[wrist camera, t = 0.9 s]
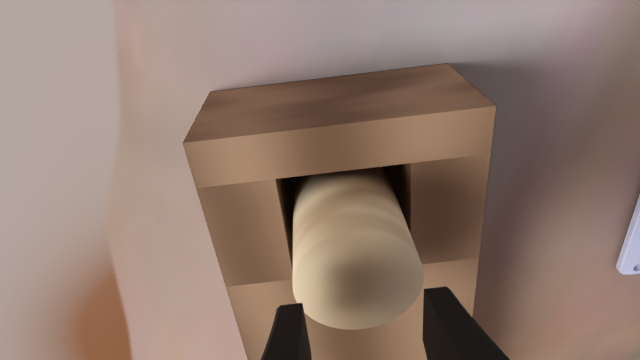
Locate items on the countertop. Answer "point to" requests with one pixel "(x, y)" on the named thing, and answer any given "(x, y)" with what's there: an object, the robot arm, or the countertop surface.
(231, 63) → the countertop surface
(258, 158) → the collar bar
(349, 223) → the peg
